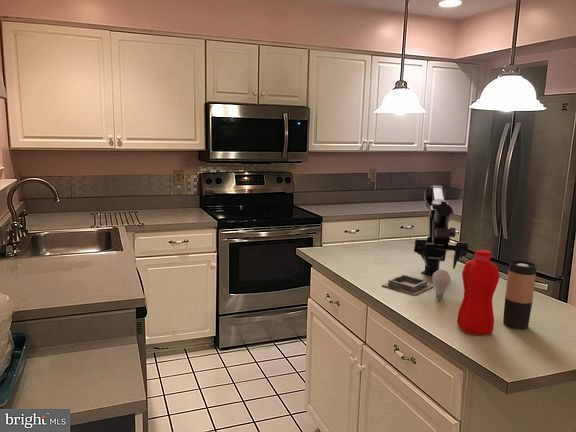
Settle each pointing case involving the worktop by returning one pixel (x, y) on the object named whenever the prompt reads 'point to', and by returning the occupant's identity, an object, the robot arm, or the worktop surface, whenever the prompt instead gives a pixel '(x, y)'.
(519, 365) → the worktop surface
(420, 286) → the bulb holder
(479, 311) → the water bottle
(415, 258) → the worktop surface
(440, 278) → the lightbulb
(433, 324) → the worktop surface
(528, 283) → the travel mug
